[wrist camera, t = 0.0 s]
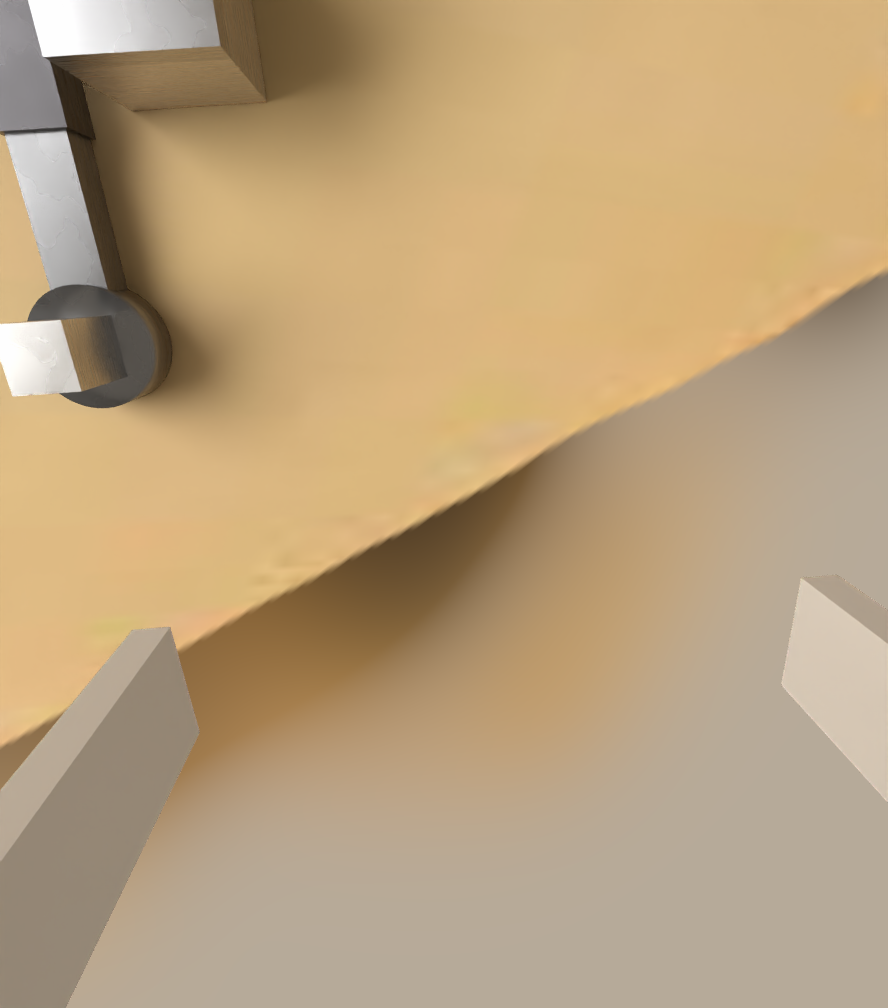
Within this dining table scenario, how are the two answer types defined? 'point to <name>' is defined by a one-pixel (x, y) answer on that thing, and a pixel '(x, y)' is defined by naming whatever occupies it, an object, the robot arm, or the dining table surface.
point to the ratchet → (69, 242)
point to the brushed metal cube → (156, 49)
